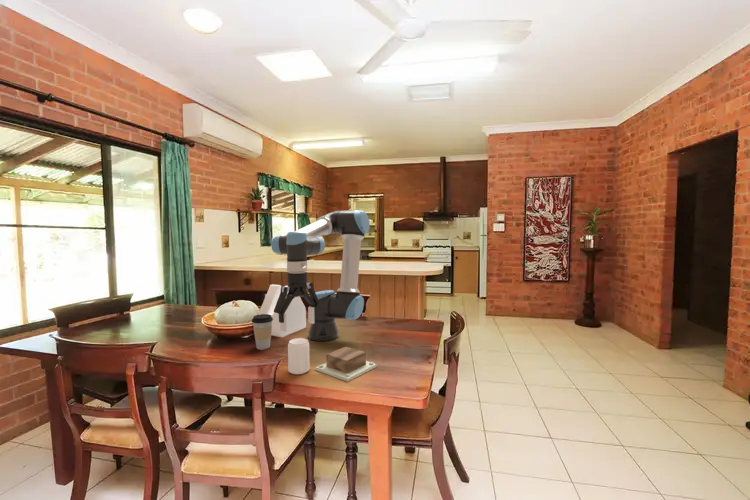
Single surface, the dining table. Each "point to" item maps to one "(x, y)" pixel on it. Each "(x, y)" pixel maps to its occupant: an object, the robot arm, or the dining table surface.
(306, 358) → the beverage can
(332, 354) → the walnut brick
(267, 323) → the coffee cup
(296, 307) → the white notched block
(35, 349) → the dining table surface
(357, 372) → the baseplate
